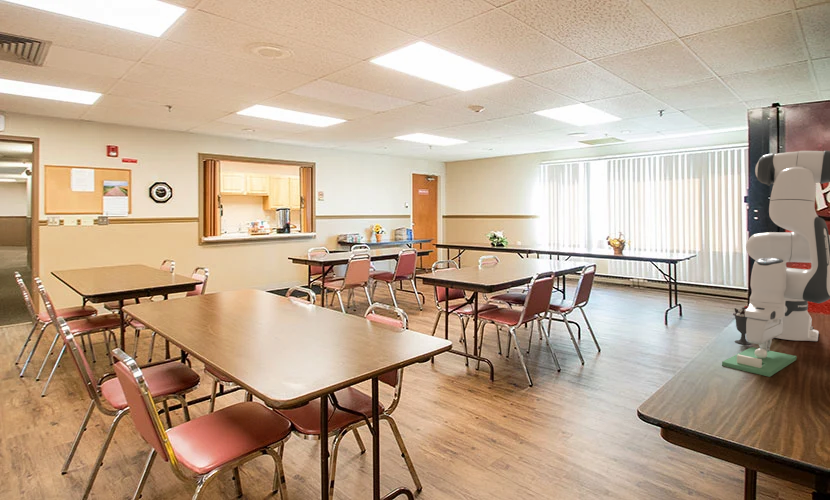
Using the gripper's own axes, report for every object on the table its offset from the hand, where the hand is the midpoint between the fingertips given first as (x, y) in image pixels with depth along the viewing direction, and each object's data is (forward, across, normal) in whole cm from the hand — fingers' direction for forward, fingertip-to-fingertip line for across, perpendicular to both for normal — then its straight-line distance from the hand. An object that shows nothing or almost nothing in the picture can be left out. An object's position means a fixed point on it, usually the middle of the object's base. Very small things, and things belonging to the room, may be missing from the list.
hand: (764, 352), depth 141 cm
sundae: (+3, -16, -11) cm, 20 cm away
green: (+2, +4, 0) cm, 4 cm away
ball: (0, +3, 0) cm, 3 cm away
